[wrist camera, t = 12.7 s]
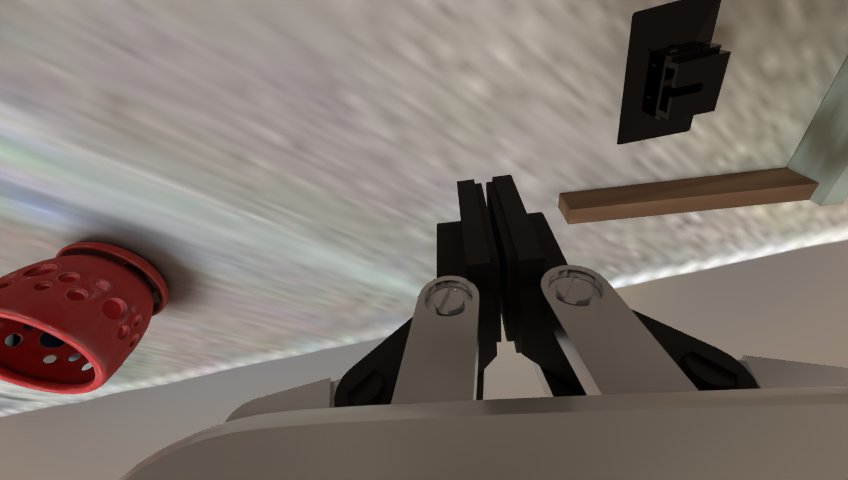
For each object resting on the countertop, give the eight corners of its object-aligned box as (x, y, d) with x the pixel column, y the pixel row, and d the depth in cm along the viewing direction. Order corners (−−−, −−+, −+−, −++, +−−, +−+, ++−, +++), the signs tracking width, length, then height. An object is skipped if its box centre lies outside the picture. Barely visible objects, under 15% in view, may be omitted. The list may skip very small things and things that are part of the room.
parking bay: (595, -150, 18) (630, -184, 14) (1053, -260, 15) (1219, -331, 12) (558, 207, 31) (571, 230, 28) (797, 181, 29) (842, 203, 25)
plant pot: (198, 310, 43) (128, 400, 33) (101, 304, 43) (3, 392, 33) (153, 231, 35) (44, 317, 25) (34, 223, 35) (-119, 307, 25)
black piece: (618, -11, 22) (656, -15, 18) (741, -45, 20) (809, -57, 17) (603, 160, 29) (628, 182, 25) (694, 142, 27) (734, 163, 24)
